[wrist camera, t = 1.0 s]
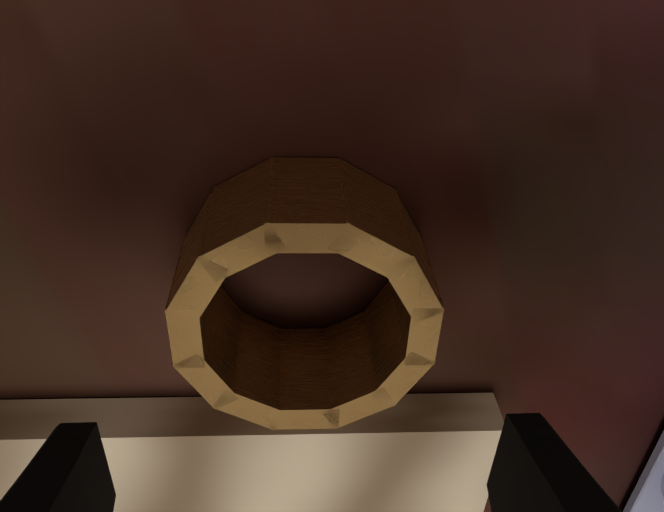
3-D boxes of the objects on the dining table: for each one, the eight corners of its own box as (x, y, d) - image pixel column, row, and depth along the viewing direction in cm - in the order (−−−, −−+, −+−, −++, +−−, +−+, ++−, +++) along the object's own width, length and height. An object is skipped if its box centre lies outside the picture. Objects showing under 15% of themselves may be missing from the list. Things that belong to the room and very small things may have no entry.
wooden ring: (432, 157, 15) (460, 223, 12) (405, 346, 18) (423, 427, 16) (175, 155, 14) (151, 222, 12) (198, 348, 18) (182, 431, 15)
